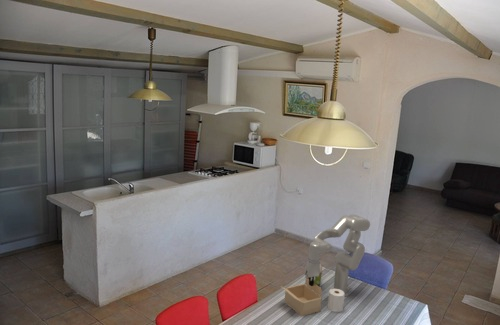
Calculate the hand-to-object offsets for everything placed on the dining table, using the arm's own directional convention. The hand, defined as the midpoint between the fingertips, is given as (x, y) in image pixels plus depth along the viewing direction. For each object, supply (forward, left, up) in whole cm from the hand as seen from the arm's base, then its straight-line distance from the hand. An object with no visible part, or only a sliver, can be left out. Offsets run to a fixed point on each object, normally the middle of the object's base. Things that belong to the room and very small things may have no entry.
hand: (311, 285), depth 275 cm
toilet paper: (-14, +11, -15) cm, 23 cm away
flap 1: (+17, 0, -3) cm, 17 cm away
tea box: (-20, -21, -15) cm, 33 cm away
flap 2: (-2, 0, -1) cm, 2 cm away
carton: (+6, 0, -15) cm, 16 cm away
